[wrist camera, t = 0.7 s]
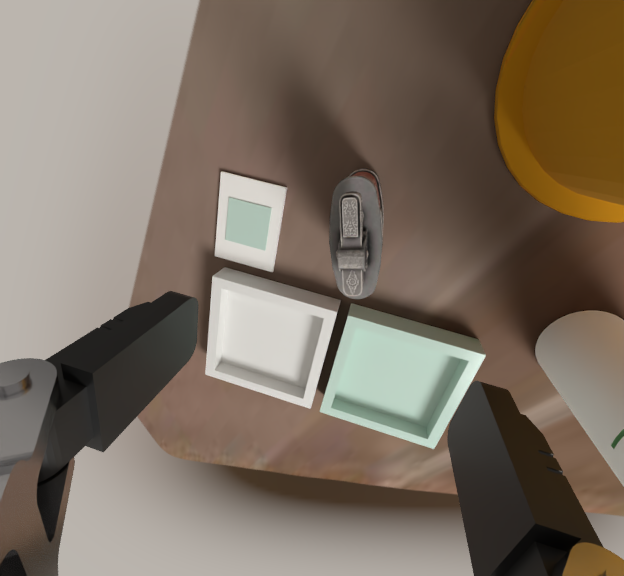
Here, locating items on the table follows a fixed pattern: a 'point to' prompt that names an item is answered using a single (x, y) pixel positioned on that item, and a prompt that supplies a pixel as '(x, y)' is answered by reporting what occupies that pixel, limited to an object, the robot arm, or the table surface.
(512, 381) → the table surface
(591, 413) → the cylindrical container
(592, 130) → the spool
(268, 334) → the white tray
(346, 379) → the green tray
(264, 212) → the card
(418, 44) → the table surface
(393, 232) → the table surface
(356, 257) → the lighter
